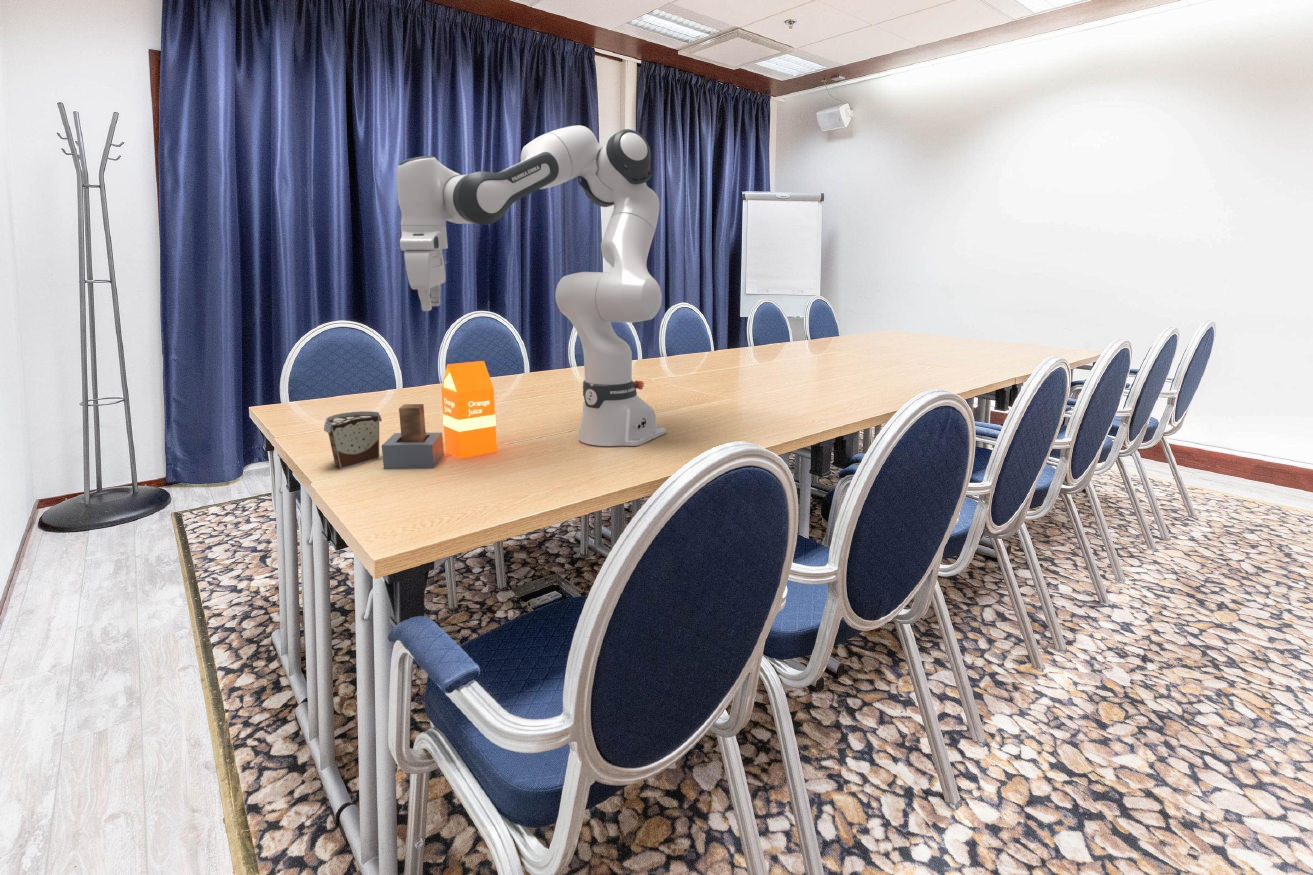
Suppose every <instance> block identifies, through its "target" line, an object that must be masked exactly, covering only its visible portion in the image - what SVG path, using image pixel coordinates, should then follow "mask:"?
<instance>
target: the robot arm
mask: <svg viewBox="0 0 1313 875" xmlns="http://www.w3.org/2000/svg"><path fill="white" fill-rule="evenodd" d="M651 162H652V154H651V149H650V146H649V144H648V141H647V139H646V138H645V137H644V135H642V134H641V133H640V132H638V131H636V130H634V129H629V128H626V129H625V128H624V129H621V130H619V131H617V132H615V133H614V134H613V135H612V136H610V138H609V139H608V140H607V143H605V144H601V143H599V142H598V140H597V137H596V135H595V134H594V132H593V131H592V130H591V129H590V128H588V127H587V126H584V125H580V124H579V125H578V124H577V125H569V126H565V127H561V128H557V129H555V130H554V129H553V130H551V131H549V132H545V133H544V134H541V135H539V136H537V137H536V138H534V139H533V140H531V141H529V142H528V143H527V144H526V145H524V146H523V148H522V150H521V153H520V162H518V163H516V164H512V165H511V166H509V167H507V168H504V169H502V170H501V171H497V172H492V171H482V170H481V171H479V170H478V171H474V172H471V173H468V174H466V173H465V174H462V175H461V173H459V172H456V171H454V170H452V169H450V168H448V167H447V166H445V164H442V163H441V162H439V160H438V159H437V158H436V157H435V156H432V155H422V156H415V157H410V158H405V159H403V160H401V161H400V162H399V164H398V166H397V169H396V189H397V191H396V192H397V203H398V206H399V208H400V212H401V219H400V232H401V237H400V239H399V246H400V250H401V251H404V253H403V254H404V255H403V256H404V262H405V270H406V274H407V280H408V284H409V285H410V288H411V290H417V294H418V298H419V300H420V307H421V311H423V312H429V311H430V312H431V310H432V309H433V307H439V306H441V291H442V290H441V289H442V288H441V285H443V284H444V283H446V281H447V280H446V276H447V275H446V268H445V260H444V254H443V250H446V249H448V248H449V246H448V245H449V244H448V236H447V226H446V225H447V222H450V223H453V224H457V225H458V224H459V225H461V224H463V225H468V224H470V225H471V224H476V225H481V226H487V225H492V224H495V223H496V222H497V221H499V220H500V219H501V218H502V217H503V216H504V215H505V214H506V212H507V211H508V209H509V208H510V207H511V206H512V205H513V204H514V203H516V202H517V201H518V200H521V199H522V198H524V197H526V196H528V195H530V194H532V193H534V192H537V191H538V190H545V189H549V188H554V187H556V186H559V185H562V184H565V183H566V182H568V181H571V180H573V179H574V178H577V181H578V184H579V186H580V187H581V188H582V190H583V192H584V194H585V195H586V196H587V198H588V199H589V200H590V201H591V202H592V203H593V204H595V205H596V206H599V207H602V208H608V207H611V206H613V211H612V212H611V216H610V218H609V221H608V224H607V226H606V229H605V230H604V231H605V232H604V235H603V237H602V239H601V243H600V251H601V254H602V256H603V259H604V260H605V261H606V262H607V263H608V264H609V265H610V266H611V267H612V269H611V270H610V271H603V272H602V271H601V272H600V271H580V272H575V273H571V274H566V275H564V276H562V278H560V280H559V281H558V283H557V285H556V288H555V295H554V296H555V297H554V298H555V302H556V305H557V307H558V309H559V312H560V313H561V314H563V315H564V316H565V317H566V318H567V319H568V320H569V322H570V323H571V324H572V325H573V327H574V329H575V330H576V332H577V334H578V337H579V340H580V342H581V347H582V353H583V362H584V363H583V364H584V365H583V366H584V368H583V369H584V380H583V381H582V396H583V399H584V402H583V405H582V416H581V424H580V428H579V432H578V434H579V435H578V440H579V441H580V442H582V443H583V444H586V445H591V446H599V447H621V446H623V447H624V446H627V447H637V446H640V445H643V444H645V443H647V442H649V441H652V440H653V439H656V438H658V437H660V436H663V435H664V434H666V433H667V432H666V429H665V428H664V427H662V426H660V425H657V418H656V412H655V410H654V408H653V407H652V406H650V405H649V404H648V403H647V402H645V401H644V400H643V399H642V398H641V397H640V396H639V395H638V392H637V390H643V389H644V387H645V383H644V381H642V380H635V381H633V379H632V374H633V373H632V372H633V371H632V370H633V369H632V368H633V367H632V366H633V362H632V361H633V360H632V359H633V352H632V349H631V347H630V345H629V344H628V342H626V341H625V340H624V339H623V338H621V337H619V336H618V335H617V334H616V332H615V330H614V328H613V326H612V322H614V323H631V324H633V323H638V322H639V323H641V322H645V321H651V320H653V319H654V318H655V317H656V316H657V314H658V313H659V311H660V308H661V307H662V300H663V294H662V291H661V290H662V289H661V287H660V285H659V282H657V280H656V279H655V278H654V276H652V274H650V272H649V271H648V270H649V269H648V268H647V267H648V266H647V261H648V256H649V253H650V248H651V245H652V241H653V239H654V237H655V236H654V235H655V233H656V228H657V225H658V221H659V220H658V219H659V213H660V199H659V197H658V195H657V194H656V192H655V191H654V190H653V188H650V187H649V186H648V185H647V182H648V181H649V180H650V178H651V177H652V168H651Z"/></svg>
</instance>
